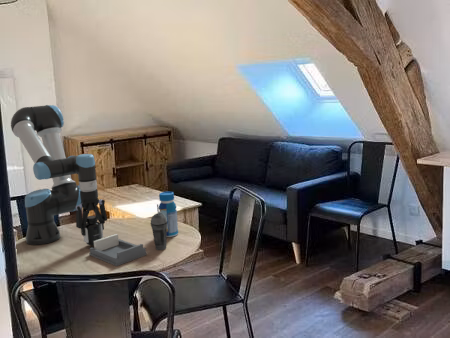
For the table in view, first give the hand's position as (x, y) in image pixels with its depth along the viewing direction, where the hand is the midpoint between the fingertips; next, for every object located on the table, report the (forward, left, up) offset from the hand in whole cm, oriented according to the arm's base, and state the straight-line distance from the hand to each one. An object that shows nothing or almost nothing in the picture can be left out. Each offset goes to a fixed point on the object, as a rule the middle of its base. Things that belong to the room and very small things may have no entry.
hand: (93, 239), depth 217 cm
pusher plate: (+10, 0, -2) cm, 11 cm away
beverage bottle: (+16, +30, -3) cm, 34 cm away
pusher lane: (+18, 0, -3) cm, 19 cm away
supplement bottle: (0, 0, -2) cm, 2 cm away
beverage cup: (+27, +16, -3) cm, 32 cm away
